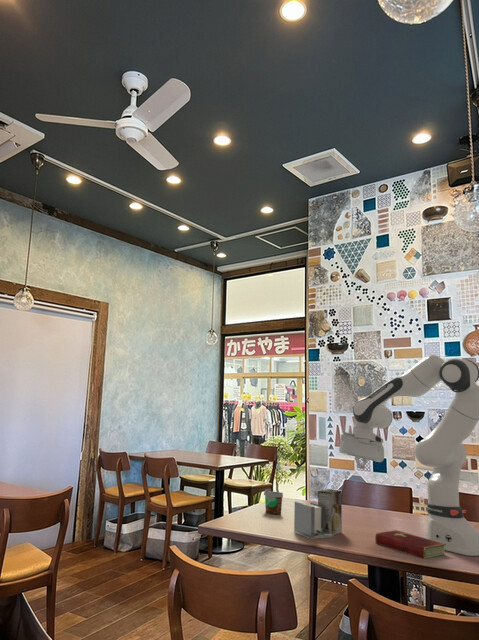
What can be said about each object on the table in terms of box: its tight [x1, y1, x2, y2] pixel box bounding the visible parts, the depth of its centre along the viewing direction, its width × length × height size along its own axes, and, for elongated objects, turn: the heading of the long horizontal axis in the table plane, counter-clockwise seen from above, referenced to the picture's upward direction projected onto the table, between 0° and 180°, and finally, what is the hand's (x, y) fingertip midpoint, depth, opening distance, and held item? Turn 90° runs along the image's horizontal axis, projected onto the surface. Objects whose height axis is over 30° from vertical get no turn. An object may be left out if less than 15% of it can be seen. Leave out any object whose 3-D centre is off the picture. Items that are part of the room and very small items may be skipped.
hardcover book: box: [374, 529, 446, 560], centre depth 164 cm, size 12×21×4 cm, turn 33°
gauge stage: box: [310, 502, 325, 533], centre depth 179 cm, size 9×5×10 cm, turn 28°
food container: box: [263, 488, 284, 516], centre depth 216 cm, size 12×6×10 cm, turn 25°
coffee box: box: [317, 488, 343, 536], centre depth 184 cm, size 9×6×16 cm
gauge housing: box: [293, 501, 334, 540], centre depth 179 cm, size 11×10×12 cm
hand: (360, 468), depth 196 cm, fingers closed
